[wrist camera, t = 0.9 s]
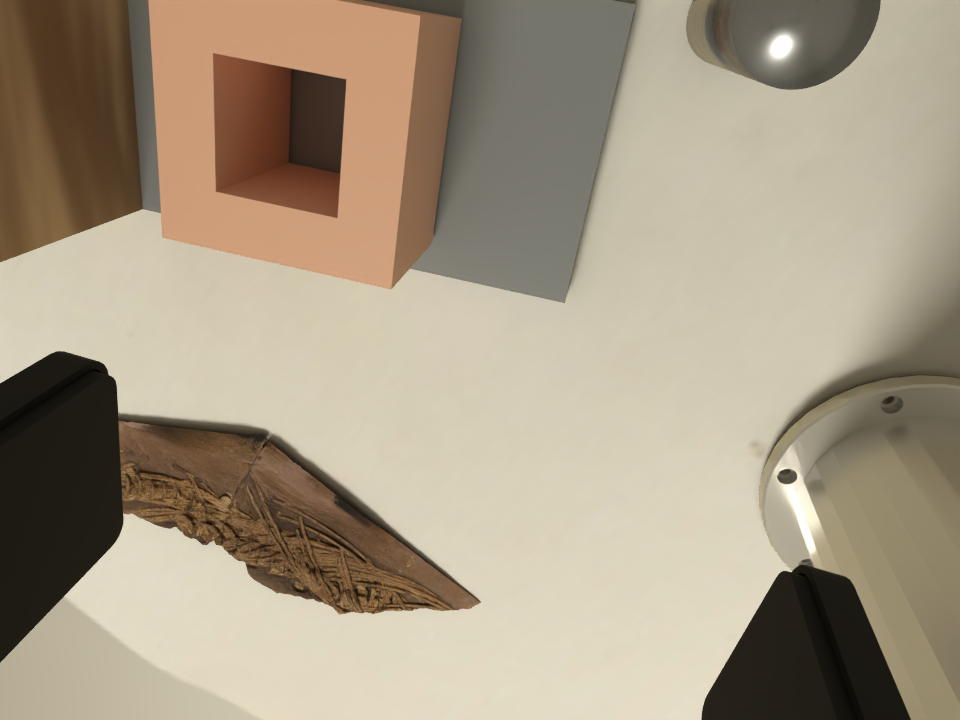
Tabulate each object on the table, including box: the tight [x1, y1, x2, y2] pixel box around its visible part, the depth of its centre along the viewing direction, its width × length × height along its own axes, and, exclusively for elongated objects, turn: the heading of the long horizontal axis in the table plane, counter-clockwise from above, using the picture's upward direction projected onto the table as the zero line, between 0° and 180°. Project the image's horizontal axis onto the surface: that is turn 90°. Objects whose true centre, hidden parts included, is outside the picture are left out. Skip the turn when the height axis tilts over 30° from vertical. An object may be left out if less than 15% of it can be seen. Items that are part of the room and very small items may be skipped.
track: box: [128, 0, 636, 303], centre depth 29 cm, size 25×12×1 cm, turn 81°
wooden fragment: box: [118, 421, 481, 614], centre depth 41 cm, size 26×11×1 cm, turn 64°
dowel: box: [686, 0, 881, 90], centre depth 20 cm, size 3×3×12 cm
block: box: [148, 0, 462, 289], centre depth 26 cm, size 9×9×6 cm
